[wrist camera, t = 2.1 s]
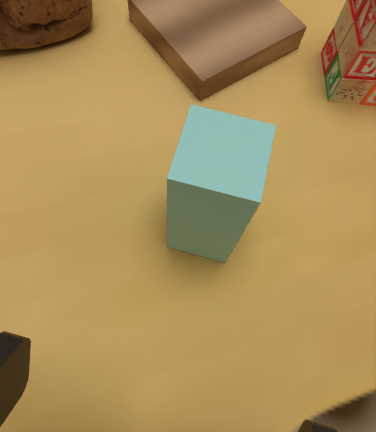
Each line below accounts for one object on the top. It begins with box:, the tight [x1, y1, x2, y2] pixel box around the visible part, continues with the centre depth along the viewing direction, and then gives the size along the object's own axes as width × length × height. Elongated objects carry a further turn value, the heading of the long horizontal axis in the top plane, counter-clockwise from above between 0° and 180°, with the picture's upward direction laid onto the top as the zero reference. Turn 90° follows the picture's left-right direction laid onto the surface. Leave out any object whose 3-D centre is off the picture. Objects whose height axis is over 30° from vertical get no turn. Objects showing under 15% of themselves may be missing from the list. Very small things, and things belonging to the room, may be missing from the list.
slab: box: [128, 0, 307, 101], centre depth 34 cm, size 12×12×3 cm
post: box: [167, 104, 276, 262], centre depth 22 cm, size 4×4×11 cm
